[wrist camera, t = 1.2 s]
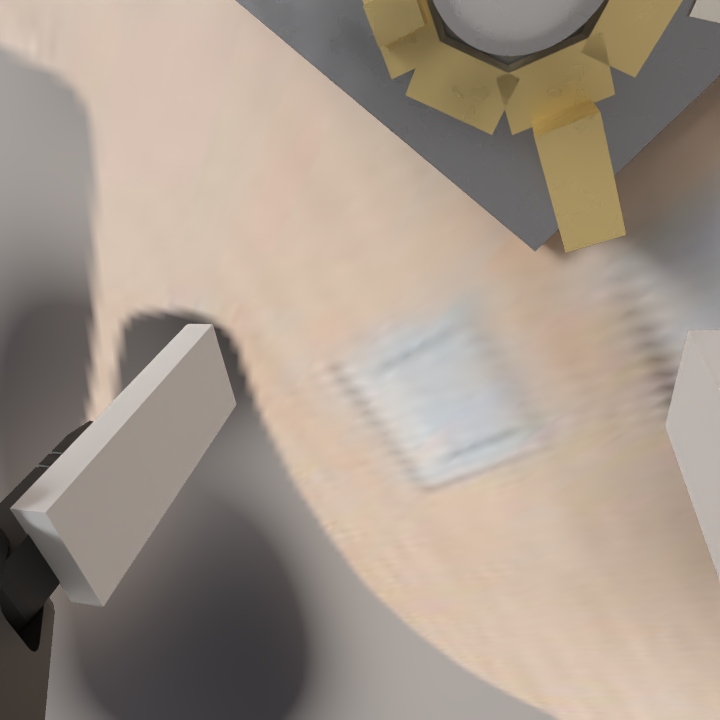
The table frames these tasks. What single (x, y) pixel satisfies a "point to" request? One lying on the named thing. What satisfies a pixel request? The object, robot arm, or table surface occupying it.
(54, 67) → the table surface
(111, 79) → the table surface
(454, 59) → the tan handled ring
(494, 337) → the table surface
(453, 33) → the flange plate
